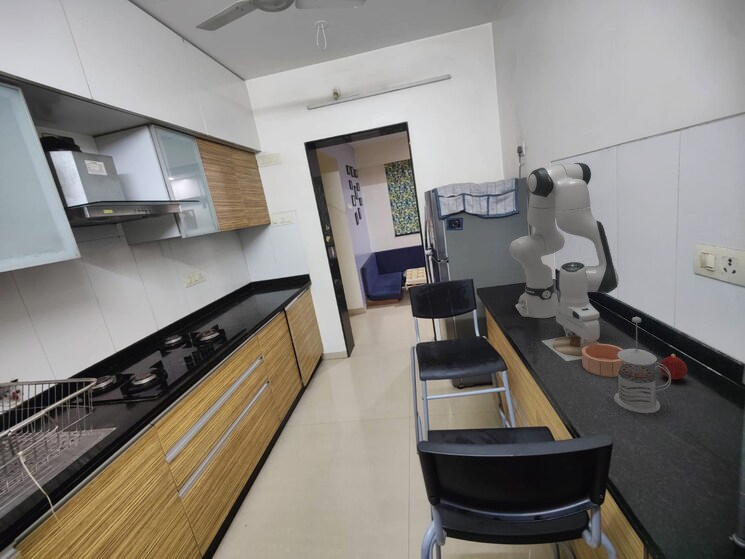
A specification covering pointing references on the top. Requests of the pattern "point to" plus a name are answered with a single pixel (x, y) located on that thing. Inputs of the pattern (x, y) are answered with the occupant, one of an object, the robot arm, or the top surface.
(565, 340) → the lid
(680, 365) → the pomegranate
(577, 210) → the robot arm
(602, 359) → the bowl
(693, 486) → the top surface
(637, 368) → the french press
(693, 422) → the top surface
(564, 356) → the mat
